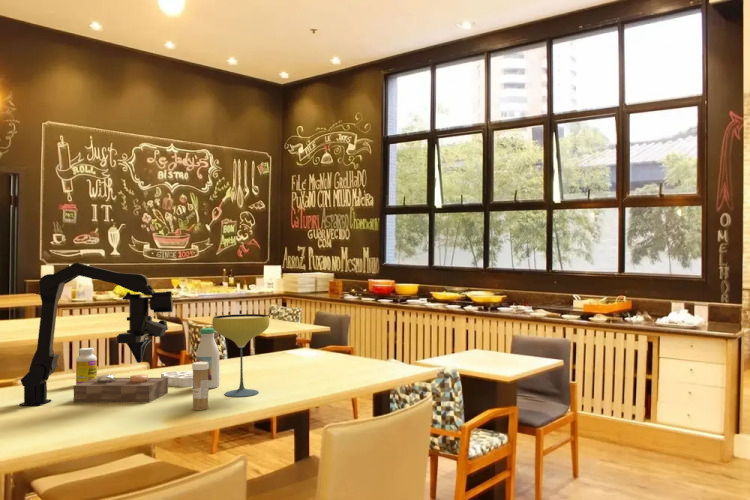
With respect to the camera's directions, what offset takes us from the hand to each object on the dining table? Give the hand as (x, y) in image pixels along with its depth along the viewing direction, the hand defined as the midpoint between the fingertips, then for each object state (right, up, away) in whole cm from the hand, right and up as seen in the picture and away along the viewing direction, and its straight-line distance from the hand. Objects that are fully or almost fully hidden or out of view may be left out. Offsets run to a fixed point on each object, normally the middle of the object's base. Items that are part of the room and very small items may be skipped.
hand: (139, 362), depth 195 cm
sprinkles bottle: (+24, -11, -17) cm, 32 cm away
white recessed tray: (+6, -12, +24) cm, 28 cm away
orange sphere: (0, -10, 0) cm, 10 cm away
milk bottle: (+18, -11, +15) cm, 26 cm away
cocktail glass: (+32, -11, +3) cm, 34 cm away
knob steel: (-11, -10, +1) cm, 15 cm away
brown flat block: (-5, -11, 0) cm, 12 cm away
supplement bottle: (-27, -12, +22) cm, 37 cm away
